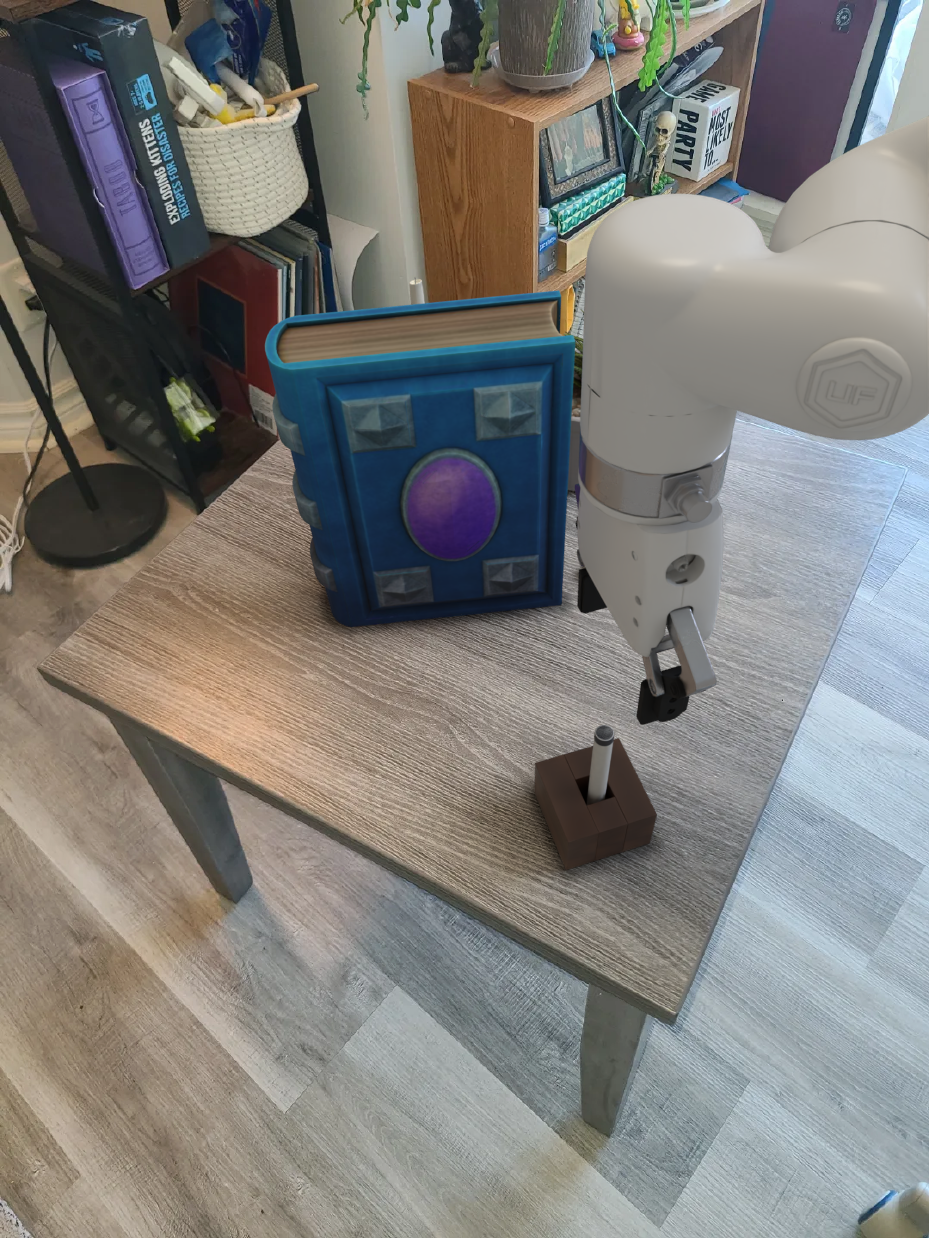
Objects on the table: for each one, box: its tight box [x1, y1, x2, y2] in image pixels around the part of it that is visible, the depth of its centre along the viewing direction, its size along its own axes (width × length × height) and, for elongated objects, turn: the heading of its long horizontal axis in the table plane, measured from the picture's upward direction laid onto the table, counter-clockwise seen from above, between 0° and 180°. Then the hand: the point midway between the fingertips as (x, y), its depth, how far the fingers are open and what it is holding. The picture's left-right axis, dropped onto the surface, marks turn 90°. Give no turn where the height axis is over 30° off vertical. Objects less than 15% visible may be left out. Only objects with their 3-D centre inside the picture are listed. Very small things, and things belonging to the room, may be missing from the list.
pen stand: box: [533, 737, 658, 871], centre depth 73 cm, size 7×7×5 cm
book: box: [264, 289, 576, 628], centre depth 80 cm, size 24×9×30 cm, turn 95°
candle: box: [408, 277, 426, 305], centre depth 108 cm, size 5×5×16 cm
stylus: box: [586, 724, 615, 806], centre depth 70 cm, size 1×1×13 cm
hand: (628, 657), depth 59 cm, fingers open, 9 cm apart
